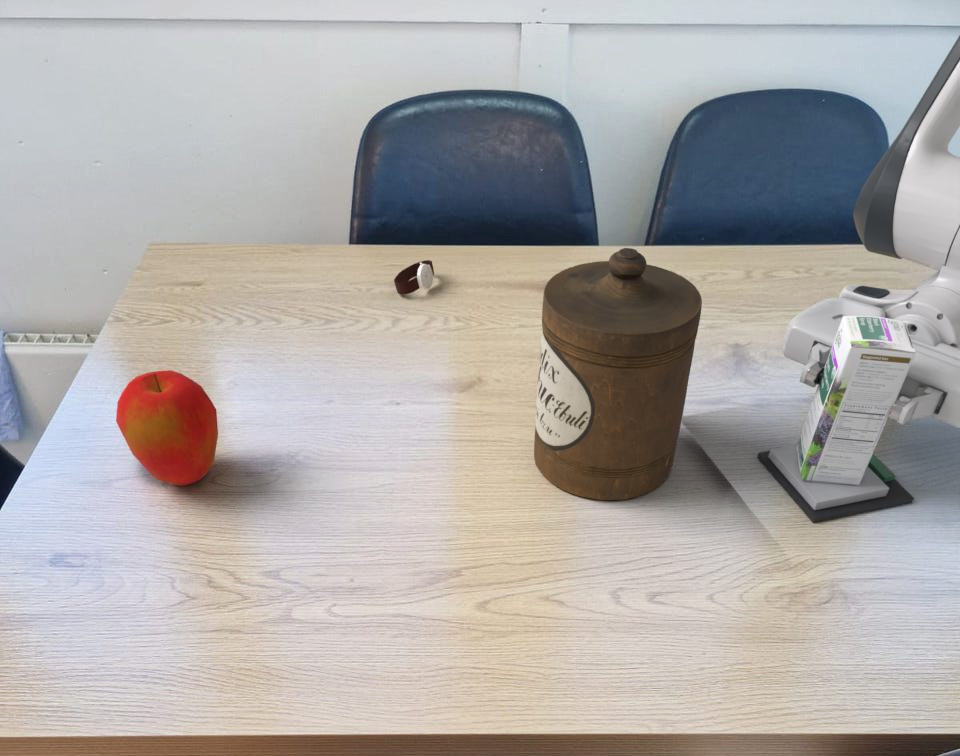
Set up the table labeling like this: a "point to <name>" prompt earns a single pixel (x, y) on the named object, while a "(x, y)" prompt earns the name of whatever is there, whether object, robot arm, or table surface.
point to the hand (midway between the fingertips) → (850, 395)
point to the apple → (169, 426)
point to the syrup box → (854, 398)
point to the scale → (835, 488)
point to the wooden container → (613, 375)
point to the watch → (421, 280)
